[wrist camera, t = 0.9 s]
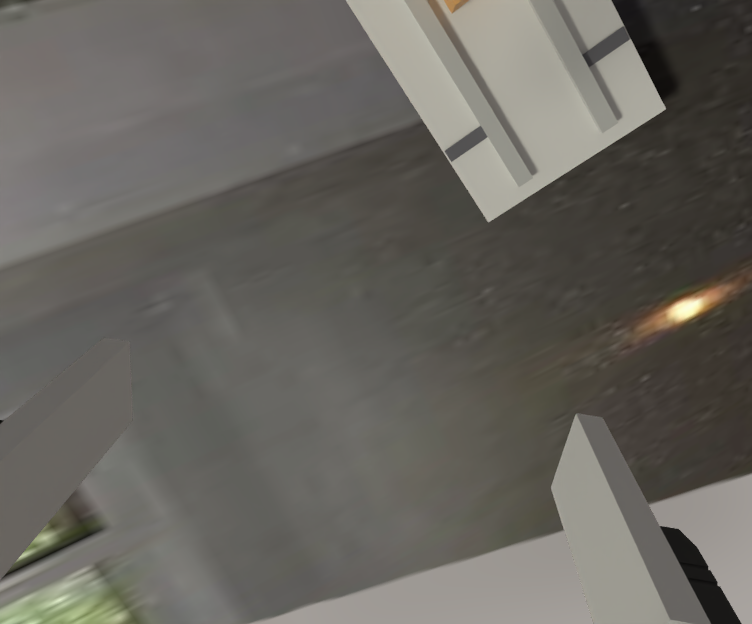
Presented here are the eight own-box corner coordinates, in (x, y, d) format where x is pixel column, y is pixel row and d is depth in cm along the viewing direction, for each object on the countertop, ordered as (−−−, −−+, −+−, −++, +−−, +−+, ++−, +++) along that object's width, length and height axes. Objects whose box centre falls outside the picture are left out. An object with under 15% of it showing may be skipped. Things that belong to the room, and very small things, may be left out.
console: (326, -33, 33) (318, -41, 31) (503, -187, 30) (510, -210, 27) (485, 215, 38) (489, 224, 36) (653, 107, 35) (670, 109, 32)
